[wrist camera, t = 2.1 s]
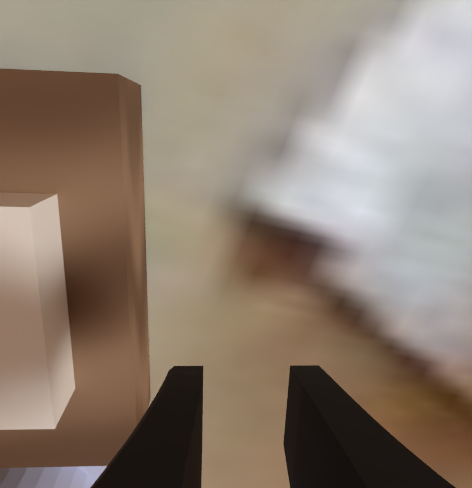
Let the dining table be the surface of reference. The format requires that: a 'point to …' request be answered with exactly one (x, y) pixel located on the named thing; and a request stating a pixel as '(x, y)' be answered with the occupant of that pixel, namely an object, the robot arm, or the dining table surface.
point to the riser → (85, 250)
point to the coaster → (33, 314)
